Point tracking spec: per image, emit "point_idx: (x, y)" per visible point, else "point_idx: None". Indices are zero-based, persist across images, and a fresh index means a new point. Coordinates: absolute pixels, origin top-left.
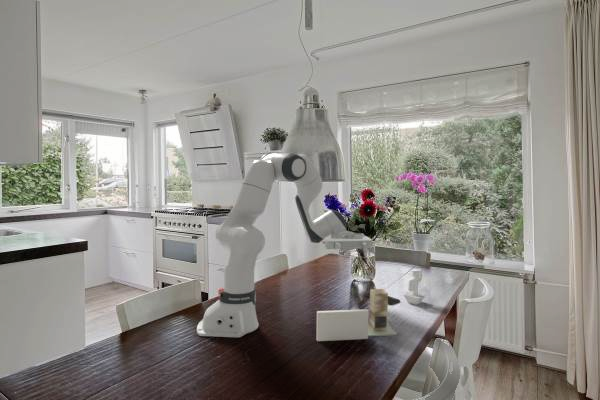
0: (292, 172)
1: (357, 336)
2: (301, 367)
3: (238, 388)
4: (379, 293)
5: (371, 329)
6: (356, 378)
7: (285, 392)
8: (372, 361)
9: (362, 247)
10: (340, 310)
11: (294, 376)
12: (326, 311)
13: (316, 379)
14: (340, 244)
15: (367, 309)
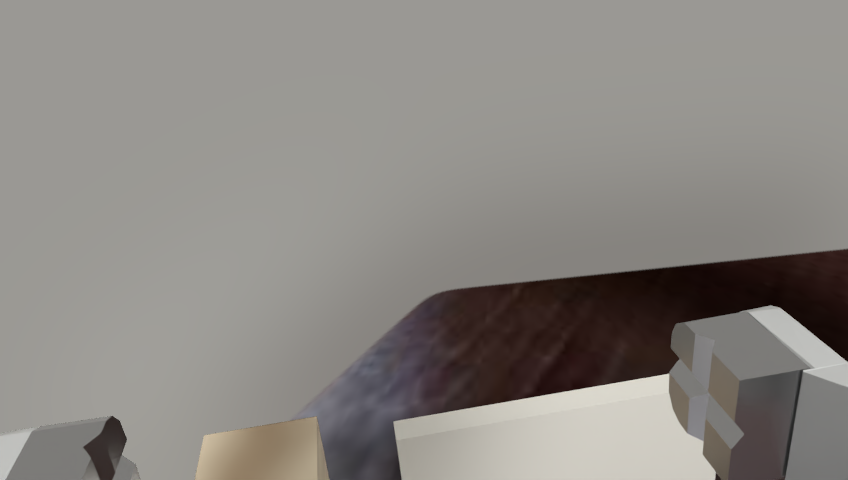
0: None
1: None
2: None
3: (820, 264)
4: (274, 424)
5: None
6: (495, 324)
7: (684, 269)
8: (429, 394)
9: (136, 469)
10: (575, 405)
11: (690, 310)
12: (662, 385)
13: (617, 309)
14: (779, 346)
15: (396, 437)
